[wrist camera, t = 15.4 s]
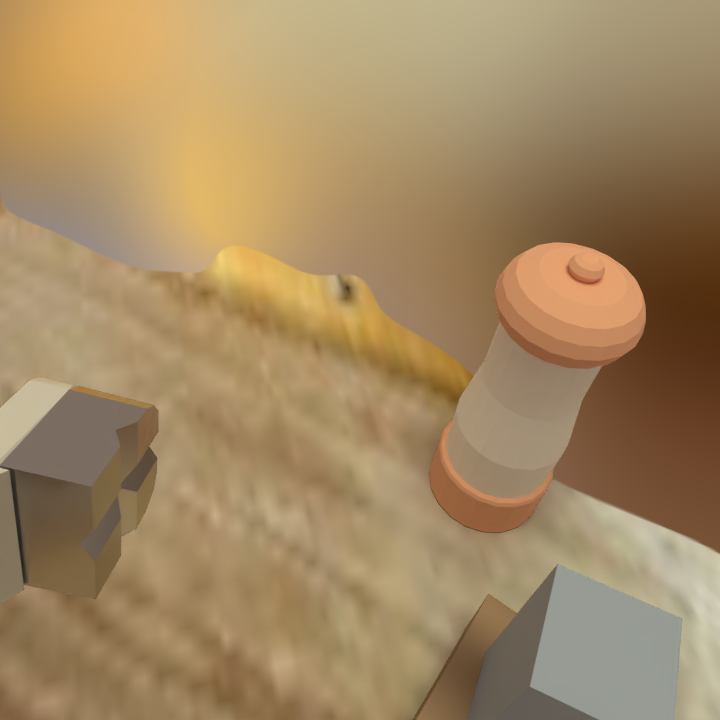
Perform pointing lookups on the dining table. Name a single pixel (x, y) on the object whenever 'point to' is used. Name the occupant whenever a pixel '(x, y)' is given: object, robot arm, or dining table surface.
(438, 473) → the pepper shaker
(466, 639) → the walnut block
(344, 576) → the dining table surface
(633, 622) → the gray brick
